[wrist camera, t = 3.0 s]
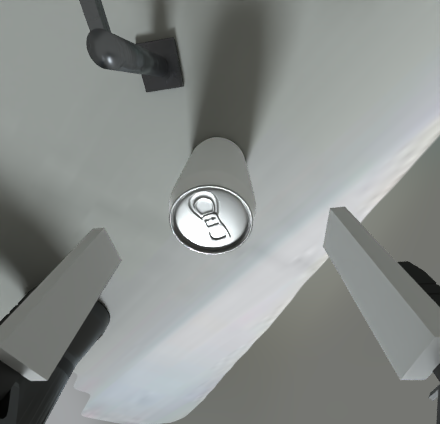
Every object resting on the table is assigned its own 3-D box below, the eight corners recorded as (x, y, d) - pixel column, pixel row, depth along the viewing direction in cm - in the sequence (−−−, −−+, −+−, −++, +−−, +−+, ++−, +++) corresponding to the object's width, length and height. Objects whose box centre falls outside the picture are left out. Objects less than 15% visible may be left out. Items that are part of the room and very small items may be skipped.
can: (234, 126, 22) (240, 162, 11) (252, 179, 25) (270, 245, 14) (180, 149, 23) (143, 199, 13) (204, 196, 26) (189, 267, 16)
